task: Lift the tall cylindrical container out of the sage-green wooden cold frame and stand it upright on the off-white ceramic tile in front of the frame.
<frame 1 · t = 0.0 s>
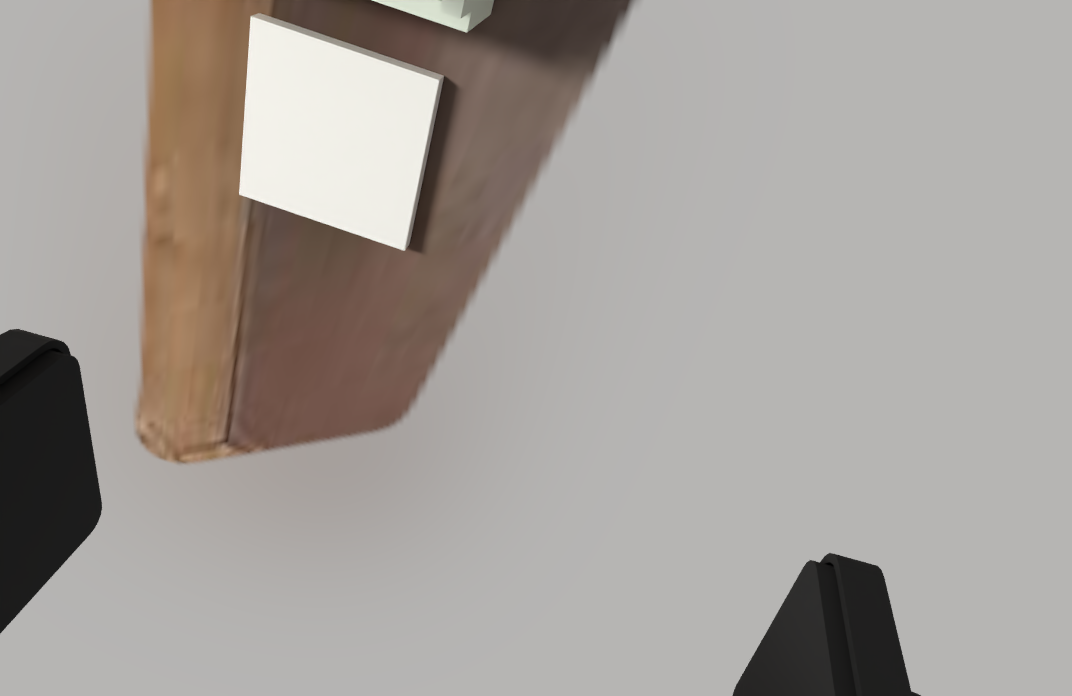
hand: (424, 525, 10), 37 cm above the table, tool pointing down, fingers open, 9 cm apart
tile: (339, 135, 48), on the table
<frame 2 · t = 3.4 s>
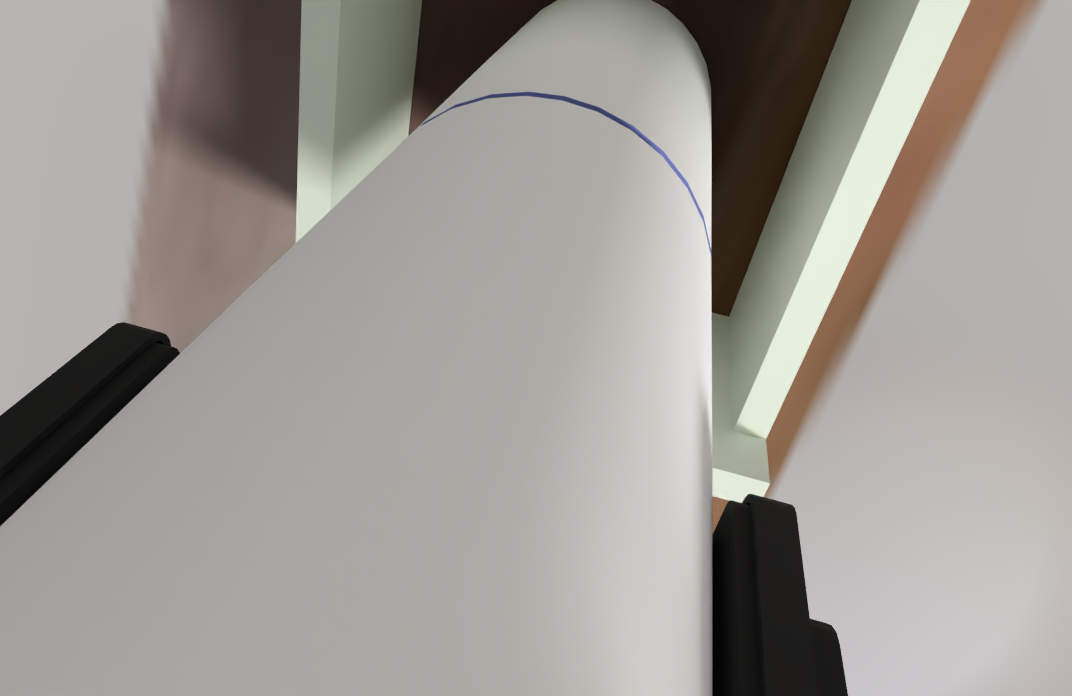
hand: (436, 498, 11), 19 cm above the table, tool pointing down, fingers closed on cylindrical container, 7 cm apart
cylindrical container: (602, 103, 27), resting in cold frame, touching gripper
cold frame: (602, 105, 27), on the table
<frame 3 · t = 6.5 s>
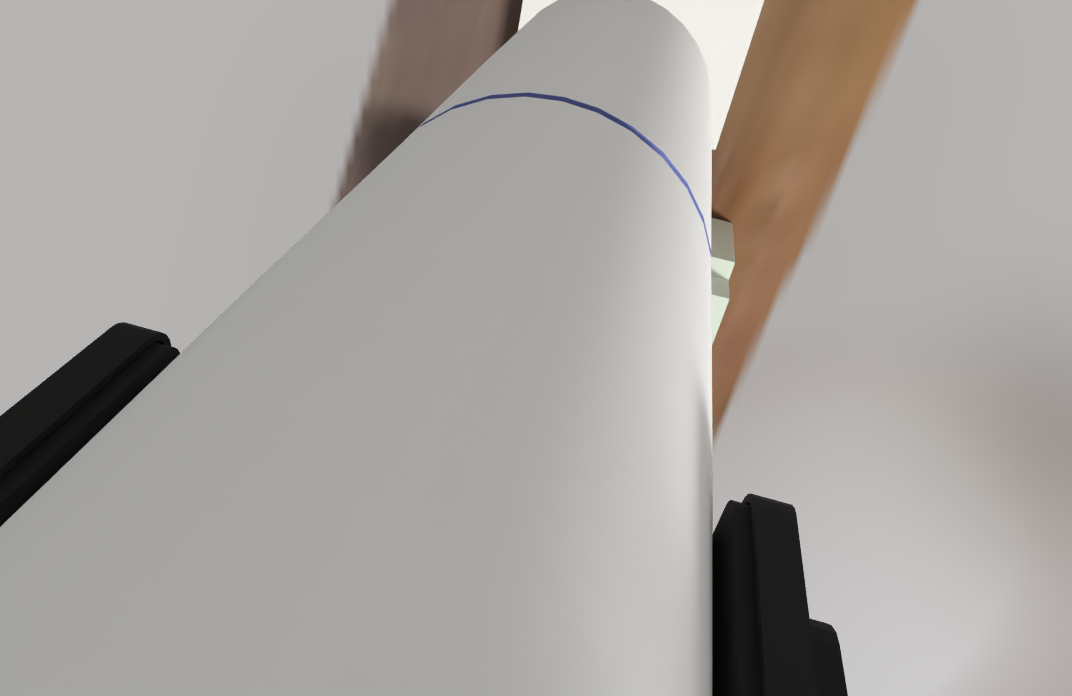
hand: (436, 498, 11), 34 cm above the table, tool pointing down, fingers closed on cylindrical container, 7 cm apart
cylindrical container: (602, 103, 27), point 15 cm above the table, touching gripper
tile: (639, 7, 38), on the table
cold frame: (570, 304, 48), on the table
when the fingers open (21 cm above the table, at t = 9.5 s): cylindrical container stays where it is, resting on tile.
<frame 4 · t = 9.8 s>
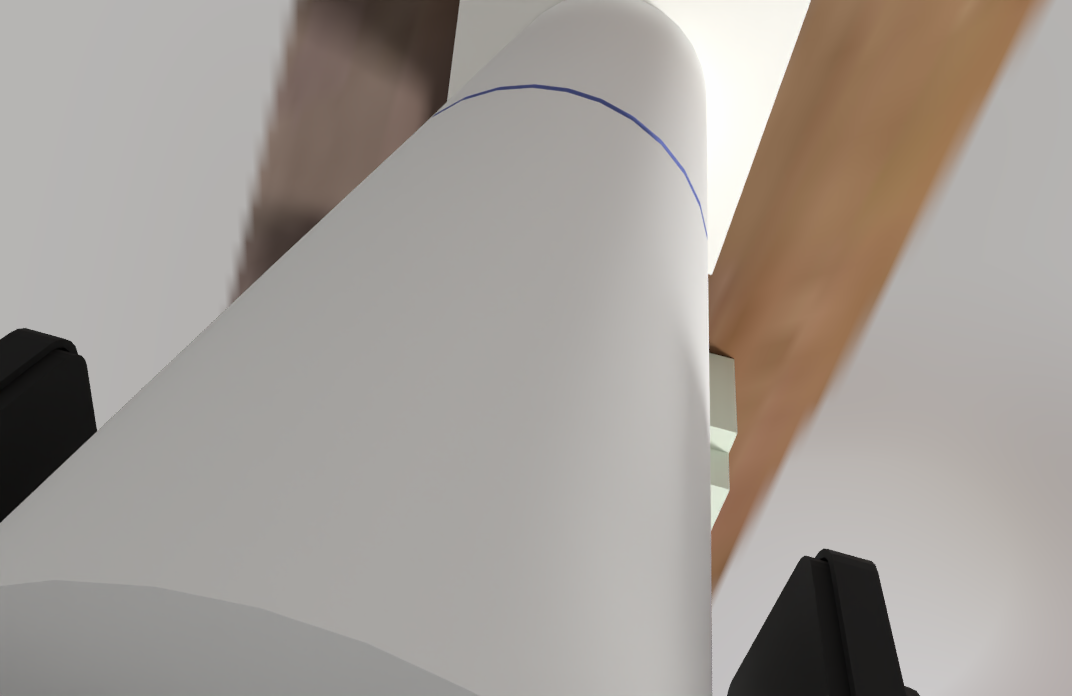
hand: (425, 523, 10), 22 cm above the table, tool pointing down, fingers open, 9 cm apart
cylindrical container: (601, 103, 28), point 1 cm above the table, touching tile
tile: (608, 89, 28), on the table
cold frame: (527, 445, 38), on the table
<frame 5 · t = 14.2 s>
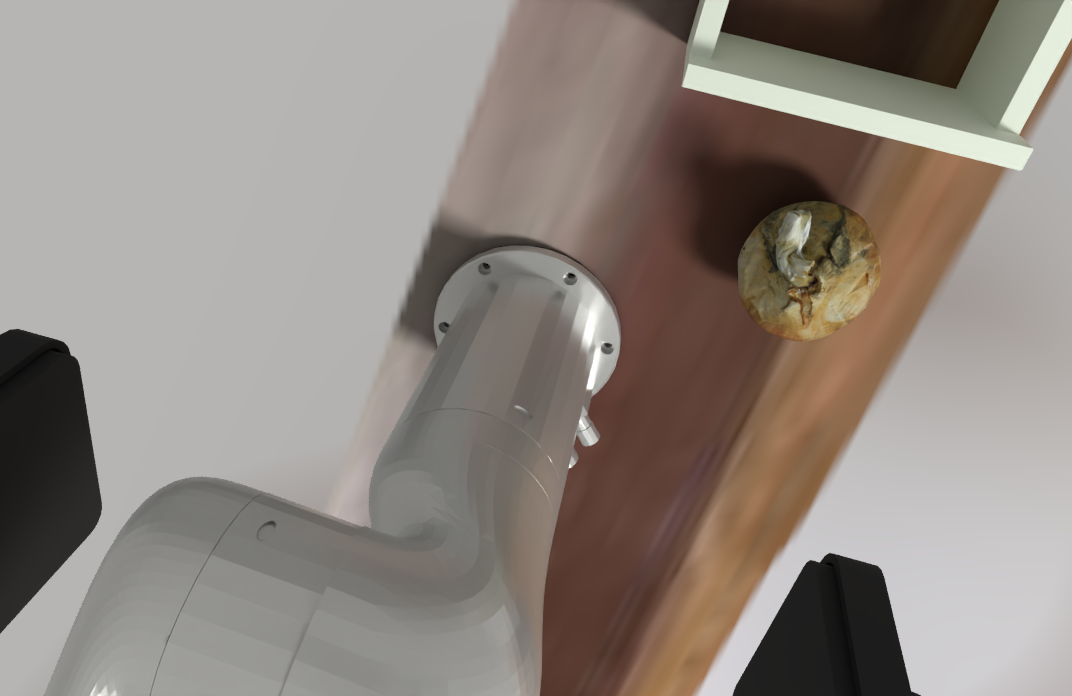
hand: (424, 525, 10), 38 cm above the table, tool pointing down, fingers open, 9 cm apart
onion: (798, 243, 47), on the table
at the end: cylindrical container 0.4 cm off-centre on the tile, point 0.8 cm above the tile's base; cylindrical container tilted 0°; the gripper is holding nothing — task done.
